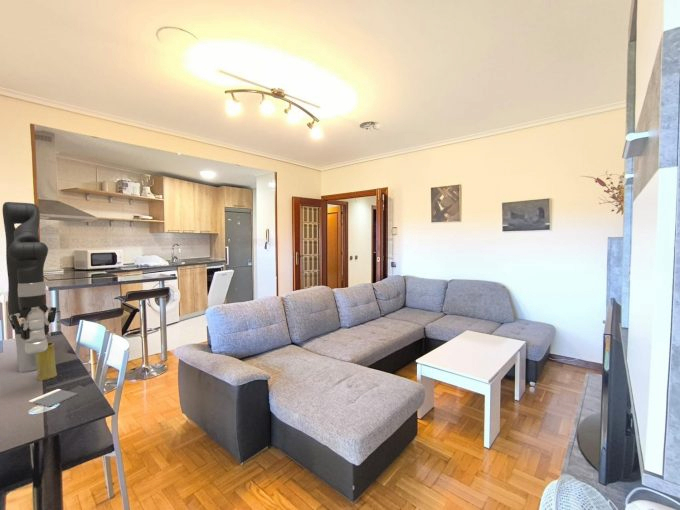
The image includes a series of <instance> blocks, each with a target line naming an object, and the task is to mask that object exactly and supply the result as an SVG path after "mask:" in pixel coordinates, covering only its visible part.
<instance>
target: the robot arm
mask: <svg viewBox="0 0 680 510" xmlns="http://www.w3.org/2000/svg"><path fill="white" fill-rule="evenodd" d="M40 214H41V213H40V209H39V206H38V204H35V203H31V202H30V203H29V202H17V201H16V202H14V201H5V202H4V203H3V204H2V219H3V228H4V234H5V245H6V247H5V250H6V251H5V253H6V255H5V259H6V272H7V282H8V291H7V293H8V295H7V311H8V317H7V318H8V320H9V323H10V325H11V328H12V330H14V334H15V335H14V336H15V348H16V360H17V369H18V370H17V371H18V372H19V373H26V372H31V371H32V372H33V371H38V365H37V354H27V353H26V351H25V343H26V340H28V339H29V336H28V330H27V328H28V324H29V320H28V319H27V321H26V322H24V321H23V319H22V318H23V317H24V318H26V317H27V315H28V313H29V312H30V311H31V308H32V307H39V306H40V307H39V308H40V309H41V311H42V310H43V311H44V312H45V314H46V313H47V314H48V315H47V316H46V315H45V328H44V329H45V335H46V336H47V335H48V334H49V333H50V326H49V325H50V324H51V323H55V321H56V315H57V314H56V313H57V309H58V308H57V307H55V306H50V307H48V306H47V292H46V291H47V290H46V284H45V277H44V267H45V262H46V259H47V256H48V253H49V247H48V245H46V243H45V242H42V241H41V239H40V234H39V229H40V228H39V227H40V220H41V216H40ZM17 224H19V225H17ZM15 225H17V226H15ZM40 241H41V242H40ZM43 311H42V312H43ZM32 313H33V312H31V313H30V315H31V314H32ZM19 319H21V321H20V322H19Z"/></svg>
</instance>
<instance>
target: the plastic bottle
mask: <svg viewBox="0 0 680 510" xmlns="http://www.w3.org/2000/svg"><path fill="white" fill-rule="evenodd" d="M39 307H40V306H39ZM39 307H32V308H31V311H30V312H29V313H28V315H27V317H26V318H24V317H23V318H21V320H22V319H23V321H24V322H26V321H27V319H28V320H29V324H28V328H27V330H28V336H29V339H28V340H26V343H25V351H26V353H27V354H37V353H41V352H44V351H46V349H47V348H48V343H49V342H48V339H47V337H46V336H47V335H45V329H44V328H45V316H46V313H45V312H44V311H43V310H42V311H43V312H42V311H41V309H40V308H39ZM31 312H33V313H32V314H31V315H30V313H31Z"/></svg>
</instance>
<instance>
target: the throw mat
mask: <svg viewBox="0 0 680 510" xmlns="http://www.w3.org/2000/svg"><path fill="white" fill-rule="evenodd" d="M73 396H74V397H75V396H79V393H77V392H72V391H68V390H64V389H60V388H57V389H55V390H52V391H49V392H47V393H44V394H42V395H39V396H37V397H35V398H32V399H30V400H28V403H30V402H31V403H30V404H34V403H35V404H34V405H38V404H39V405H38V406H42V405H44V406H43V407H45V406H47V407H46V408H51V407H54V406H55V404H56V405H58V404H60V403H62V401H63V402H65V401H67V400H69V399H71V397H72V398H74V397H73ZM64 400H65V401H64ZM57 403H58V404H57ZM53 405H54V406H53ZM50 406H51V407H50Z"/></svg>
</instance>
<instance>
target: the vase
mask: <svg viewBox="0 0 680 510" xmlns="http://www.w3.org/2000/svg"><path fill="white" fill-rule="evenodd" d="M54 344H55V343H54V342H48V348H47V349H46V351H44V352H41V353H37V365H38V369H37V380H38V381H47V380H50V378H51V379H53V378H55V377H57V376H58V372H57V366H56V357H55V356H56V355H55V345H54Z"/></svg>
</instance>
